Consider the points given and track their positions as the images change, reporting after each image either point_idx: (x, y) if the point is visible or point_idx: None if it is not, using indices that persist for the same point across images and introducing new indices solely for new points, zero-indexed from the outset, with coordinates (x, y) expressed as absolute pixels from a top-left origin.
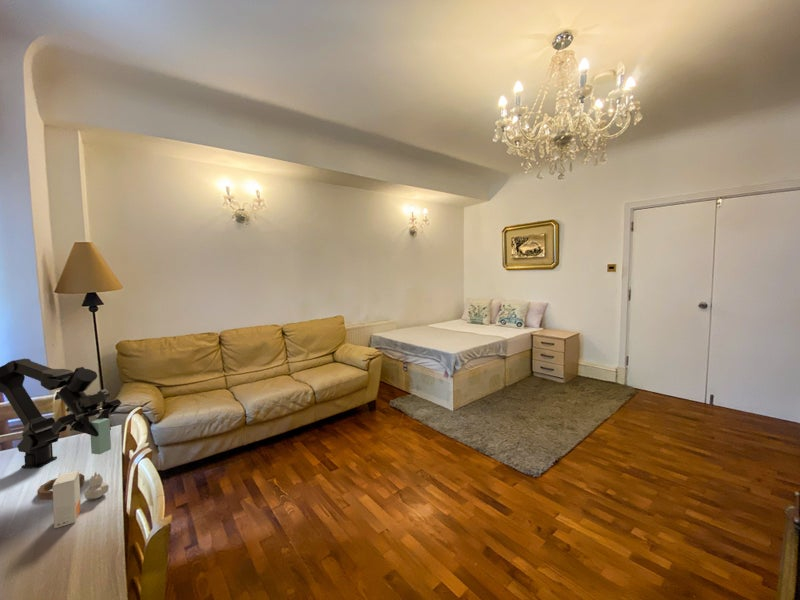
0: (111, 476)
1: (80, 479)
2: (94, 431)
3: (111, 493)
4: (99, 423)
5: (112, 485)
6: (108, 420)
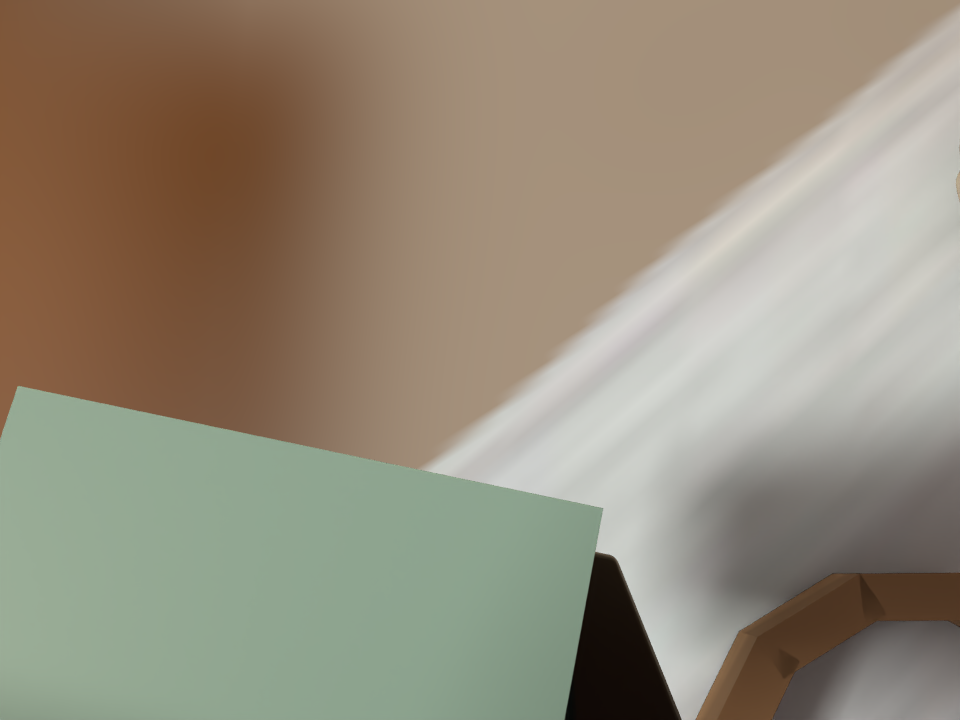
0: (617, 374)
1: (852, 604)
2: (650, 655)
3: (949, 96)
4: (552, 498)
5: (803, 206)
6: (110, 413)
